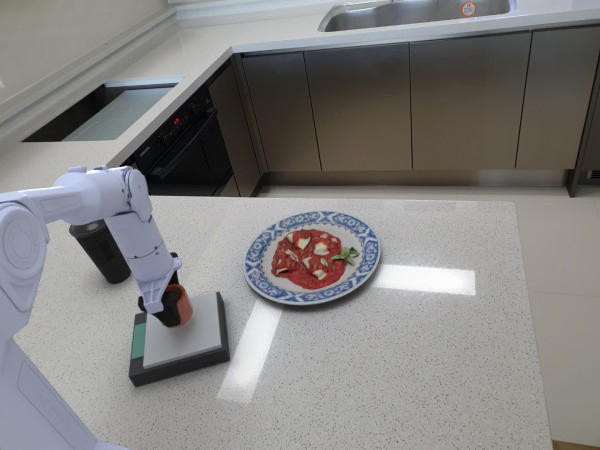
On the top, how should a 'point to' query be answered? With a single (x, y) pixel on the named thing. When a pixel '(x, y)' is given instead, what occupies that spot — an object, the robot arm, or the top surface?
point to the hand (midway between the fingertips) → (174, 310)
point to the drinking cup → (102, 250)
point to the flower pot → (181, 304)
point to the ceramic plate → (311, 258)
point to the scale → (179, 342)
